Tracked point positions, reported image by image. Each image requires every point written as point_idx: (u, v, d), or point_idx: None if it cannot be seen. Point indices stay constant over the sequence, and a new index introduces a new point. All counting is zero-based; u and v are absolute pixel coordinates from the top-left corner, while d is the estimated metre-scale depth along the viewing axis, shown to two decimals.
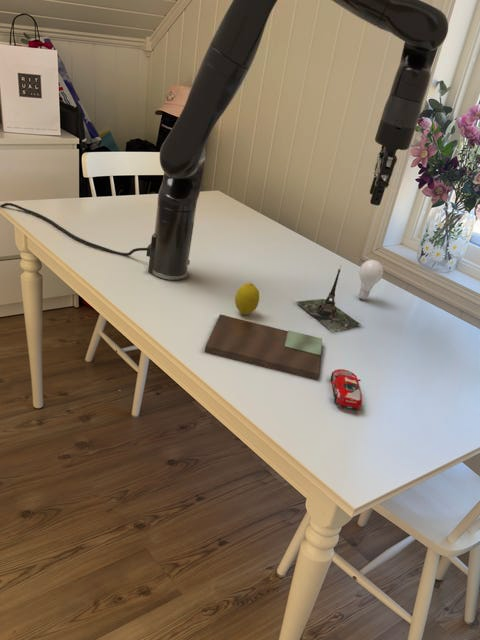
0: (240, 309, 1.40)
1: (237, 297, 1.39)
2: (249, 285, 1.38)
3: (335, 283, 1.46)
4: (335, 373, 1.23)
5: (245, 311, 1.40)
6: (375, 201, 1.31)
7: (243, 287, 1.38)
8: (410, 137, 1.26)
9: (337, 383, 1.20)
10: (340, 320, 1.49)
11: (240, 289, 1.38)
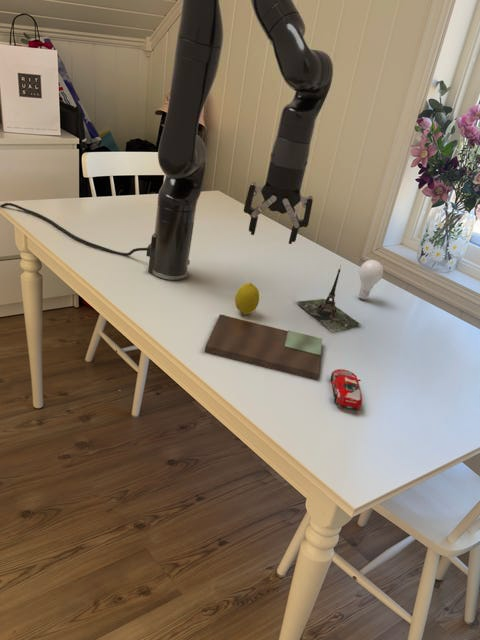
0: (240, 309, 1.40)
1: (237, 297, 1.39)
2: (249, 285, 1.38)
3: (335, 283, 1.46)
4: (335, 373, 1.23)
5: (245, 311, 1.40)
6: None
7: (243, 287, 1.38)
8: (275, 173, 1.22)
9: (337, 383, 1.20)
10: (340, 320, 1.49)
11: (240, 289, 1.38)
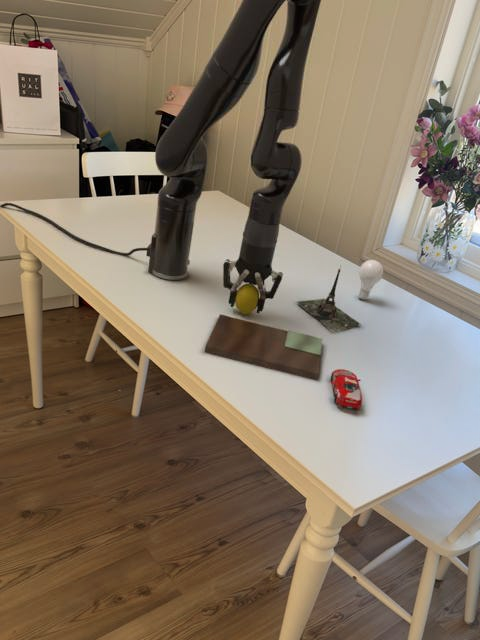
0: (240, 309, 1.40)
1: (237, 297, 1.39)
2: (249, 285, 1.38)
3: (335, 283, 1.46)
4: (335, 373, 1.23)
5: (245, 311, 1.40)
6: None
7: (243, 287, 1.38)
8: (247, 251, 1.31)
9: (337, 383, 1.20)
10: (340, 320, 1.49)
11: (240, 289, 1.38)
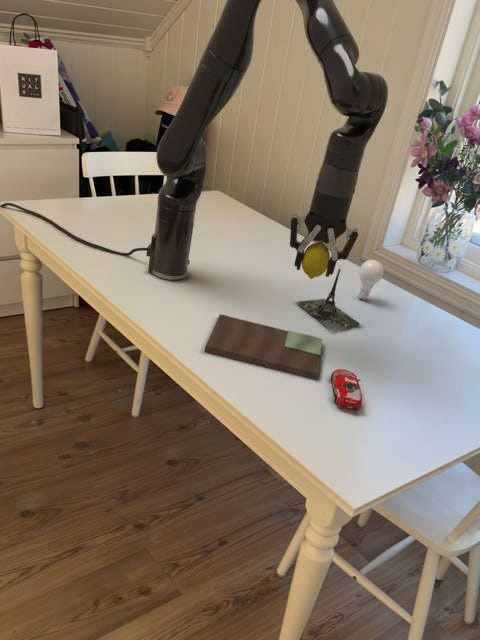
0: (308, 272, 1.24)
1: (305, 258, 1.23)
2: (319, 244, 1.22)
3: (335, 283, 1.46)
4: (335, 373, 1.23)
5: (314, 274, 1.24)
6: (295, 263, 1.25)
7: (312, 246, 1.22)
8: (321, 202, 1.14)
9: (337, 383, 1.20)
10: (340, 320, 1.49)
11: (309, 249, 1.22)
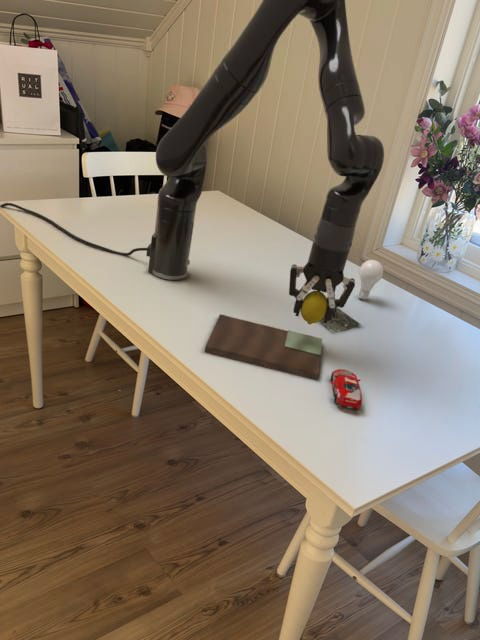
0: (306, 319, 1.28)
1: (304, 306, 1.27)
2: (317, 292, 1.26)
3: None
4: (335, 373, 1.23)
5: (312, 321, 1.28)
6: (293, 310, 1.30)
7: (311, 295, 1.26)
8: (319, 255, 1.19)
9: (337, 383, 1.20)
10: (340, 320, 1.49)
11: (307, 297, 1.26)
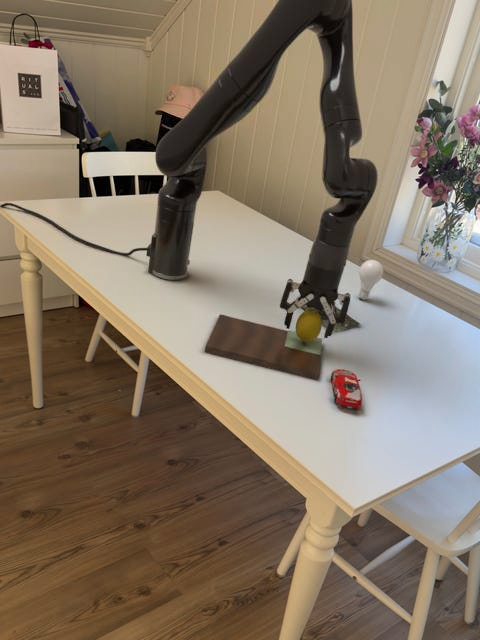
0: (301, 337, 1.30)
1: (298, 324, 1.29)
2: (312, 312, 1.28)
3: None
4: (335, 373, 1.23)
5: (306, 339, 1.30)
6: None
7: (305, 314, 1.28)
8: (313, 274, 1.21)
9: (337, 383, 1.20)
10: None
11: (302, 316, 1.29)
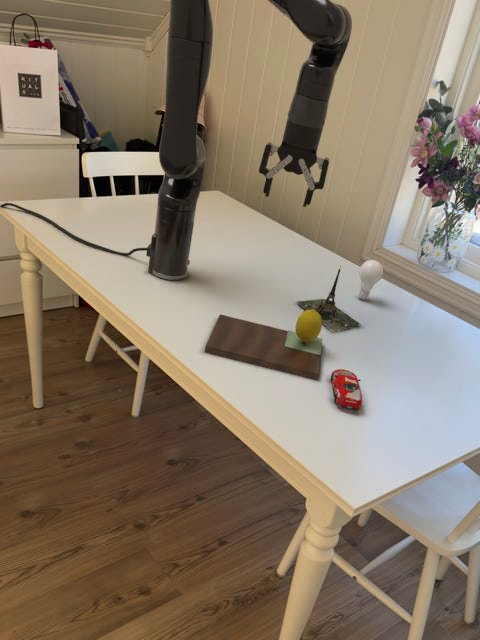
0: (301, 337, 1.30)
1: (298, 324, 1.29)
2: (312, 312, 1.28)
3: (335, 283, 1.46)
4: (335, 373, 1.23)
5: (306, 339, 1.30)
6: None
7: (305, 314, 1.28)
8: (292, 131, 1.21)
9: (337, 383, 1.20)
10: (340, 320, 1.49)
11: (302, 316, 1.29)
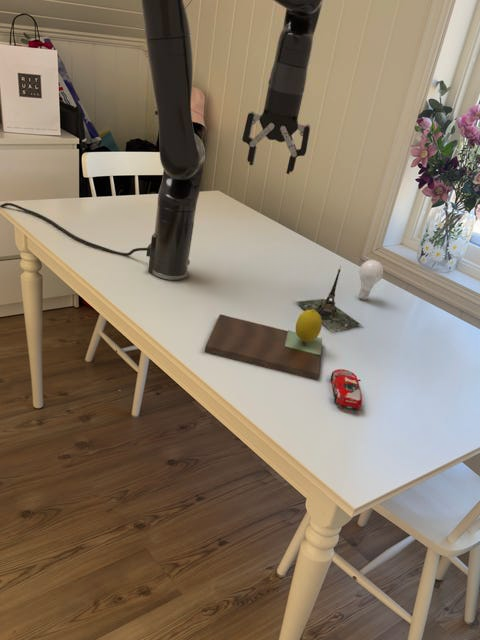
0: (301, 337, 1.30)
1: (298, 324, 1.29)
2: (312, 312, 1.28)
3: (335, 283, 1.46)
4: (335, 373, 1.23)
5: (306, 339, 1.30)
6: (248, 159, 1.35)
7: (305, 314, 1.28)
8: (273, 99, 1.25)
9: (337, 383, 1.20)
10: (340, 320, 1.49)
11: (302, 316, 1.29)
